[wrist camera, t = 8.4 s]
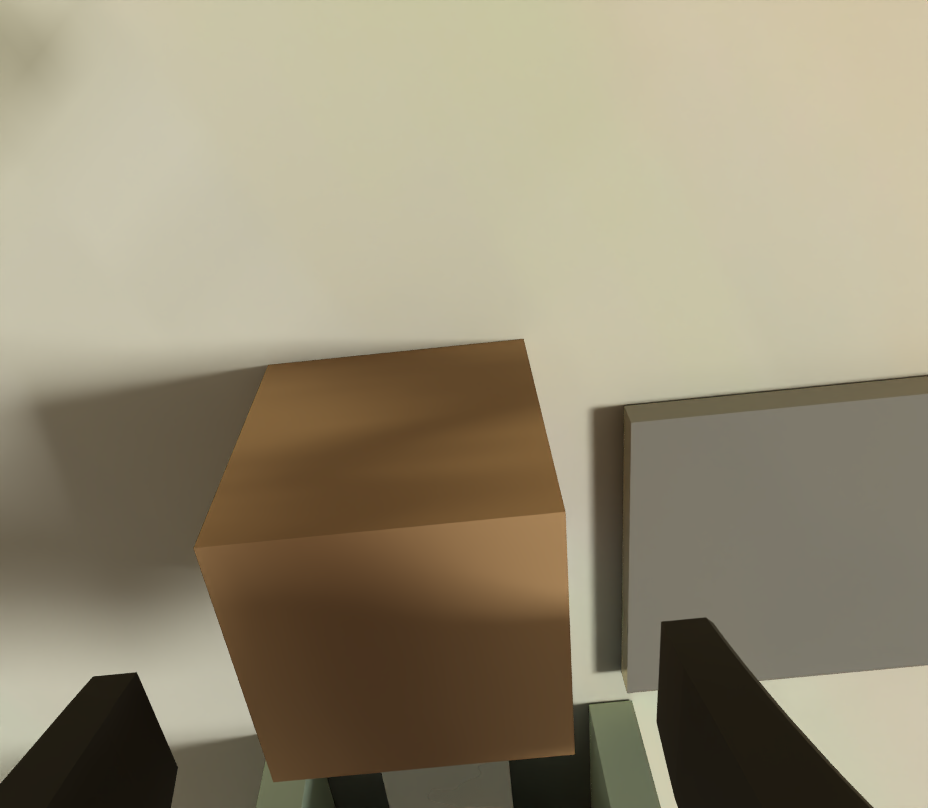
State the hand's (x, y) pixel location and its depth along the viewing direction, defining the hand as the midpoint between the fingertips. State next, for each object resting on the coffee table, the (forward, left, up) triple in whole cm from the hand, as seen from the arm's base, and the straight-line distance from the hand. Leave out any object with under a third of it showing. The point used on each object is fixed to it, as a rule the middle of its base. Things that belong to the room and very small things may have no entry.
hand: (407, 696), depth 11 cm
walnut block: (0, -1, -5) cm, 5 cm away
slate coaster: (-8, +2, -5) cm, 9 cm away
